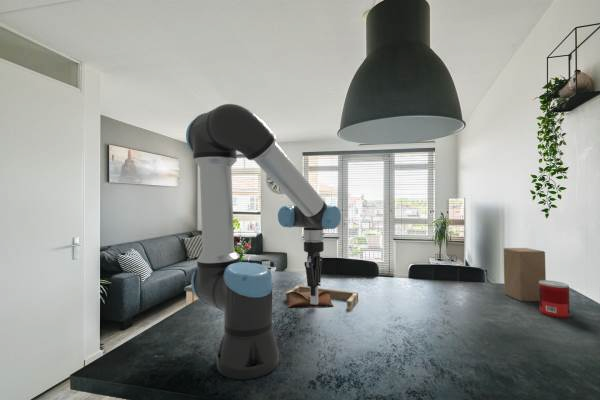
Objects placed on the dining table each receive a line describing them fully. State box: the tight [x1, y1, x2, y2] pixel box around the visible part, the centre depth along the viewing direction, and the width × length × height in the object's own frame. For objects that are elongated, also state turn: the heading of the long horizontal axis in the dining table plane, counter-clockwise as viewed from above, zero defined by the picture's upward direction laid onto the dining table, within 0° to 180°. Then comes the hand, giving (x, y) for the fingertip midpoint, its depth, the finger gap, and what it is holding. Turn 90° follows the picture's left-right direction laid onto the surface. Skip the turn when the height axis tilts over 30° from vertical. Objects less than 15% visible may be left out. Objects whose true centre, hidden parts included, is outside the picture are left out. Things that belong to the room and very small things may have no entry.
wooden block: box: [503, 247, 547, 302], centre depth 119 cm, size 10×10×20 cm
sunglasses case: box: [286, 291, 334, 308], centre depth 113 cm, size 18×7×7 cm
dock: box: [285, 285, 359, 311], centre depth 117 cm, size 12×27×3 cm, turn 66°
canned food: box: [538, 279, 571, 319], centre depth 101 cm, size 8×8×11 cm
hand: (314, 303), depth 108 cm, fingers closed
